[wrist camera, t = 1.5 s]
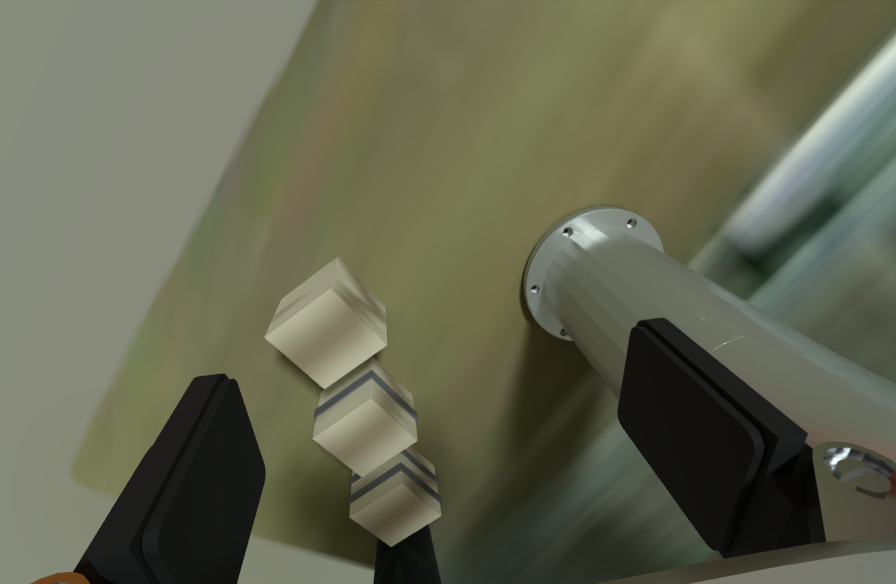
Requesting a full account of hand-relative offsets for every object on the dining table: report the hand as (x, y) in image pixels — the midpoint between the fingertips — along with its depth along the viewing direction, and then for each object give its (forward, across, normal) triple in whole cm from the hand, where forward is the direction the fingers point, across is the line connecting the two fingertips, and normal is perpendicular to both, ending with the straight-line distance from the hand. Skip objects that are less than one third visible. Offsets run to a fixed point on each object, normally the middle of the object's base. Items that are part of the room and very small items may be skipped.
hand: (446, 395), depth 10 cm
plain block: (+25, +6, +10) cm, 28 cm away
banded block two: (+25, +3, +29) cm, 39 cm away
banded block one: (+25, +5, +19) cm, 32 cm away
